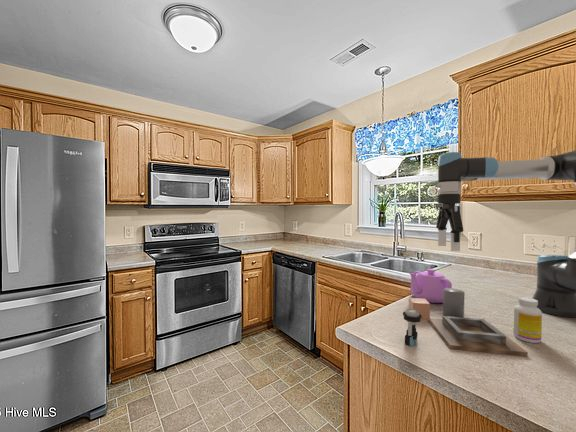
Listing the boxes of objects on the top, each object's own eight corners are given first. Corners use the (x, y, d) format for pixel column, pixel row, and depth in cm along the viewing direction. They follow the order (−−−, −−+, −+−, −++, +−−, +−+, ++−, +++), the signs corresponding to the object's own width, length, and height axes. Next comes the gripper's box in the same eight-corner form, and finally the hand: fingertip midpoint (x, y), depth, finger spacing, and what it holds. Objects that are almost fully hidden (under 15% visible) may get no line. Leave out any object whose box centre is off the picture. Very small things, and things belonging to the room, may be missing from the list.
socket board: (489, 325, 95) (489, 315, 95) (527, 356, 75) (527, 343, 75) (428, 321, 99) (428, 311, 99) (450, 348, 79) (450, 336, 79)
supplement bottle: (546, 345, 82) (548, 303, 81) (522, 342, 83) (523, 302, 83) (531, 334, 88) (532, 296, 88) (508, 332, 90) (509, 295, 89)
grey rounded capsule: (459, 313, 106) (459, 288, 106) (467, 320, 99) (467, 294, 99) (440, 312, 108) (440, 287, 107) (446, 319, 101) (447, 293, 101)
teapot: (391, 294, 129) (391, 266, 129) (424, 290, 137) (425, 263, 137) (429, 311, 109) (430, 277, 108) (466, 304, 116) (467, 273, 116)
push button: (408, 335, 87) (408, 305, 87) (425, 341, 84) (425, 310, 83) (399, 342, 83) (399, 311, 82) (417, 349, 79) (417, 316, 79)
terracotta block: (424, 313, 106) (425, 298, 106) (429, 319, 101) (429, 303, 100) (408, 312, 108) (409, 297, 108) (412, 318, 102) (412, 302, 102)
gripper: (428, 195, 115) (428, 243, 116) (450, 191, 91) (449, 253, 91) (447, 195, 114) (446, 244, 114) (475, 191, 89) (474, 253, 90)
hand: (448, 248), depth 103 cm, fingers open, 13 cm apart
